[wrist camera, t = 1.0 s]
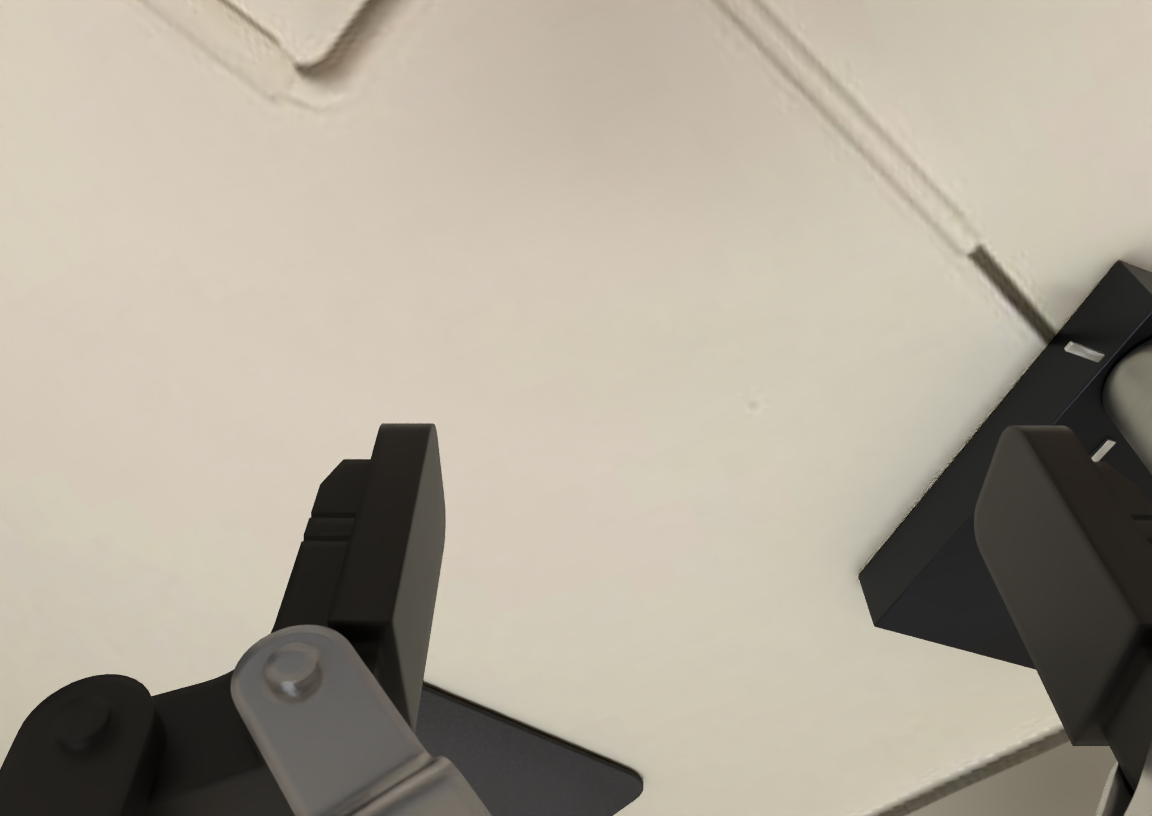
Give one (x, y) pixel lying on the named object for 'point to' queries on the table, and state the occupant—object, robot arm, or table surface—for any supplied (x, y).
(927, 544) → the stove panel
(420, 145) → the table surface
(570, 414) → the table surface
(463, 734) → the mouse pad
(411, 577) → the robot arm
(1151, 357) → the dial
